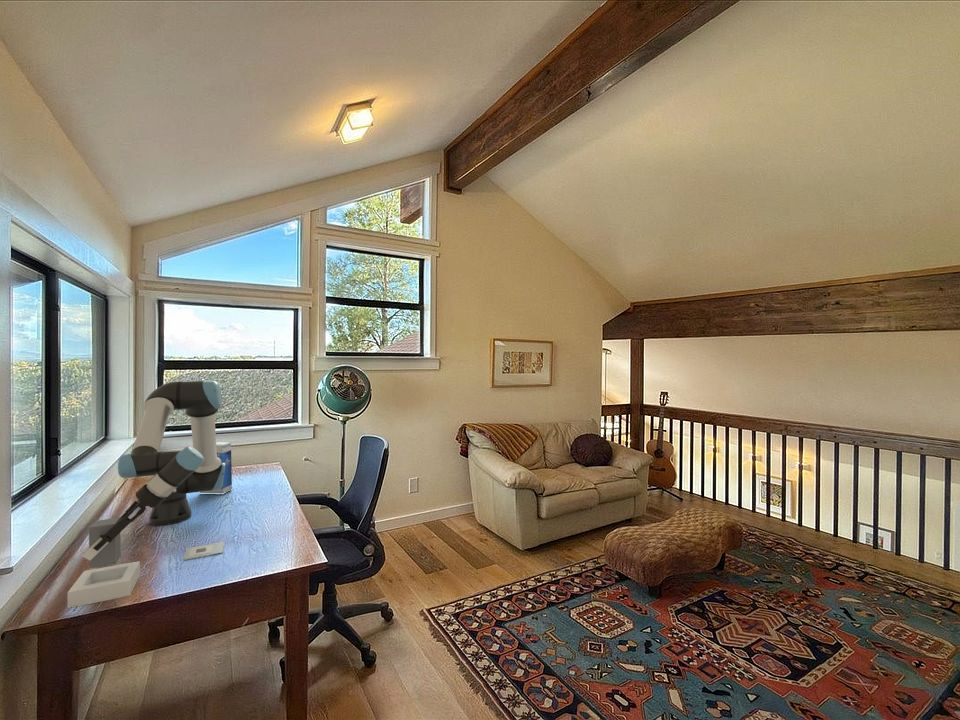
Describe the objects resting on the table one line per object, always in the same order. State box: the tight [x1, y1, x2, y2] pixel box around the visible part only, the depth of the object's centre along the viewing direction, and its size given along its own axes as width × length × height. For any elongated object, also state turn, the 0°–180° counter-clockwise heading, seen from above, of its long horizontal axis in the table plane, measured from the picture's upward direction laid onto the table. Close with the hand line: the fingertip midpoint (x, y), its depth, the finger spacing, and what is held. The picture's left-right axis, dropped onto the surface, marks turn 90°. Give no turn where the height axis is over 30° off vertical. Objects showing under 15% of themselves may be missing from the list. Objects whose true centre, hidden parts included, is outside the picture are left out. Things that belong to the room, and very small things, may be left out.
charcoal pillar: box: [88, 517, 122, 569], centre depth 133 cm, size 6×6×12 cm
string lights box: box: [199, 441, 233, 494], centre depth 227 cm, size 13×8×26 cm, turn 84°
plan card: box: [182, 541, 225, 561], centre depth 160 cm, size 10×12×1 cm
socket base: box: [67, 560, 141, 609], centre depth 133 cm, size 14×14×4 cm
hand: (89, 553), depth 131 cm, fingers closed on charcoal pillar, 6 cm apart
